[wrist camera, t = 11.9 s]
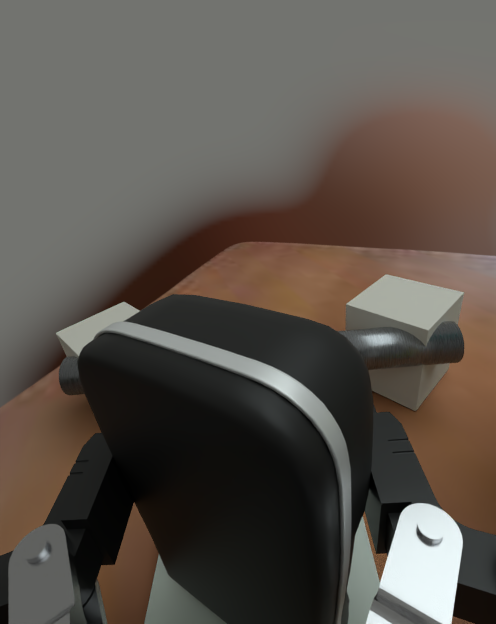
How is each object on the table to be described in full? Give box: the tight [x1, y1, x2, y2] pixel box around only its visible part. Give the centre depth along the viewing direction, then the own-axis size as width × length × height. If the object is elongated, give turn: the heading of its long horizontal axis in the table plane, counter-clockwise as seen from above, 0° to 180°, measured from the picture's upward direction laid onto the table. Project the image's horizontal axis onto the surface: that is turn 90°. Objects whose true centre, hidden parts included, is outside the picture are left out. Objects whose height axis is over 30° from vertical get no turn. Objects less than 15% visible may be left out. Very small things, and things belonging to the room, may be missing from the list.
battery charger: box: [77, 294, 373, 624], centre depth 11 cm, size 7×4×11 cm, turn 57°
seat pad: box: [144, 516, 380, 624], centre depth 14 cm, size 9×10×1 cm
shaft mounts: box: [56, 274, 464, 411], centre depth 24 cm, size 26×7×6 cm, turn 89°
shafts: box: [59, 321, 464, 395], centre depth 21 cm, size 23×2×2 cm, turn 89°
